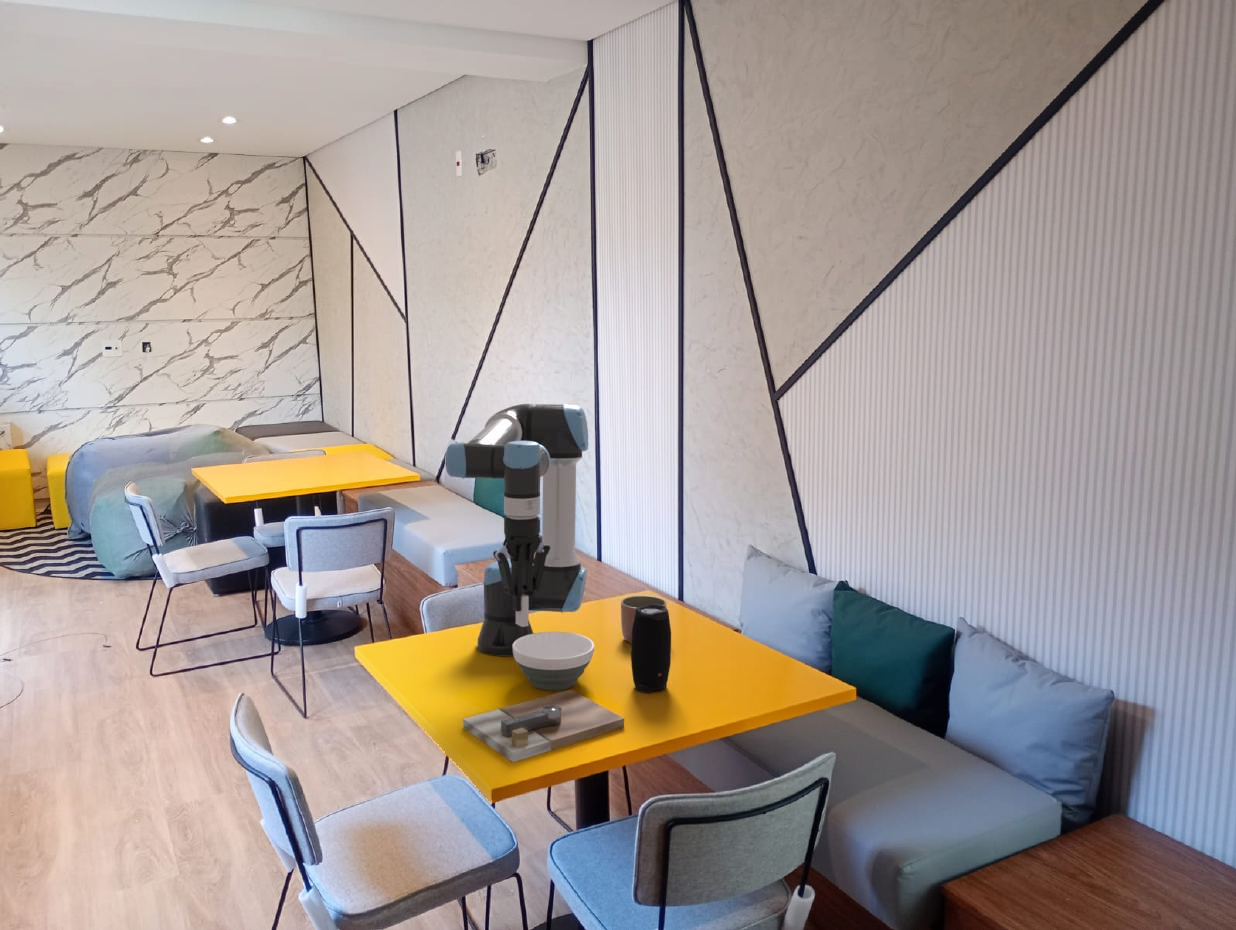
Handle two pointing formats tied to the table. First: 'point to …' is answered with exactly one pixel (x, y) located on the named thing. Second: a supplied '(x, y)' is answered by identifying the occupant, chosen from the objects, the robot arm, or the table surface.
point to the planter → (629, 611)
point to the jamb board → (575, 726)
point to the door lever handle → (532, 720)
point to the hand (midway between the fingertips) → (522, 624)
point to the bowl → (553, 658)
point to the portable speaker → (651, 648)
